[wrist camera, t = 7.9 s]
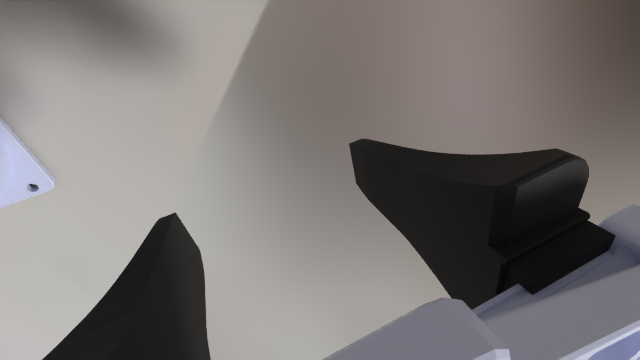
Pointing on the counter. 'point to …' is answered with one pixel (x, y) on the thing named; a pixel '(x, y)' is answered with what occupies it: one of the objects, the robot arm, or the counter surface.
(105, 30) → the counter surface
